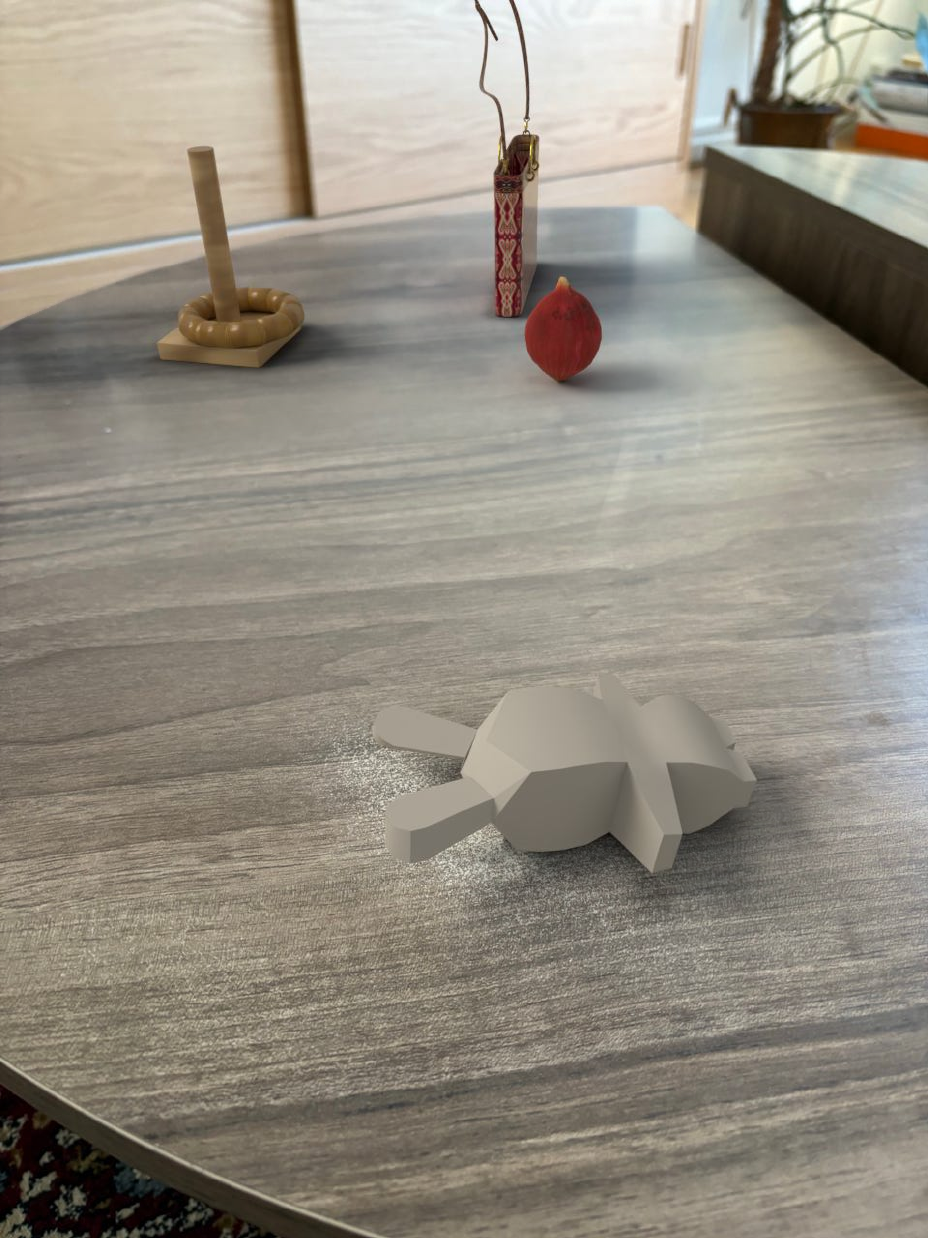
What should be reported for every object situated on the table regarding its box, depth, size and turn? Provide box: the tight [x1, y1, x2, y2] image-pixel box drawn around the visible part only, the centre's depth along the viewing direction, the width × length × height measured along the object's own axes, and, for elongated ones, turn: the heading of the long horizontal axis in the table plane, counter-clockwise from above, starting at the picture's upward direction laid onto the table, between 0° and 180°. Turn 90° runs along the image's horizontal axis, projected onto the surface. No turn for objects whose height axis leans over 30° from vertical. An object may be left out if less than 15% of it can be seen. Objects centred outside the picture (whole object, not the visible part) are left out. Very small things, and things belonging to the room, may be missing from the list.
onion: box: [523, 276, 603, 383], centre depth 75 cm, size 6×6×8 cm
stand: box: [156, 145, 302, 369], centre depth 81 cm, size 9×9×16 cm
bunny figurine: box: [371, 671, 758, 874], centre depth 41 cm, size 10×5×15 cm
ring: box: [177, 286, 306, 348], centre depth 84 cm, size 10×10×2 cm
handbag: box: [474, 0, 540, 318], centre depth 89 cm, size 7×21×25 cm, turn 171°
